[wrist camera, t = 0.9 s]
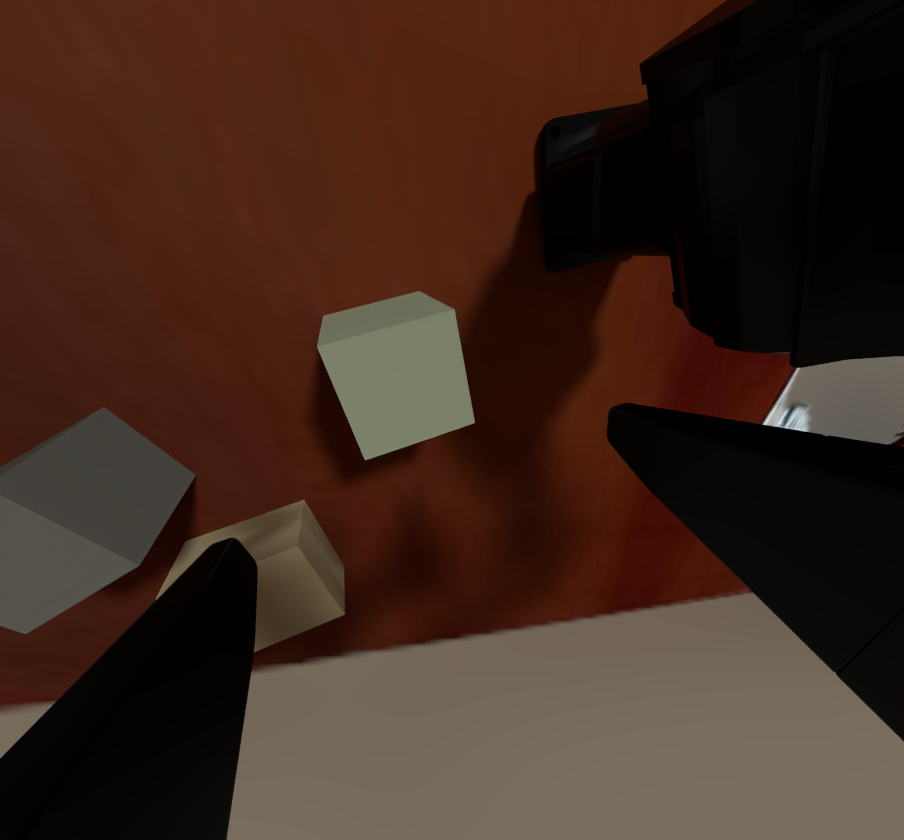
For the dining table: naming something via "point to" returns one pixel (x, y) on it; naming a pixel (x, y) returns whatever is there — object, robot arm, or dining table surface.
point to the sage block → (397, 371)
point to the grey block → (80, 515)
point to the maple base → (281, 571)
